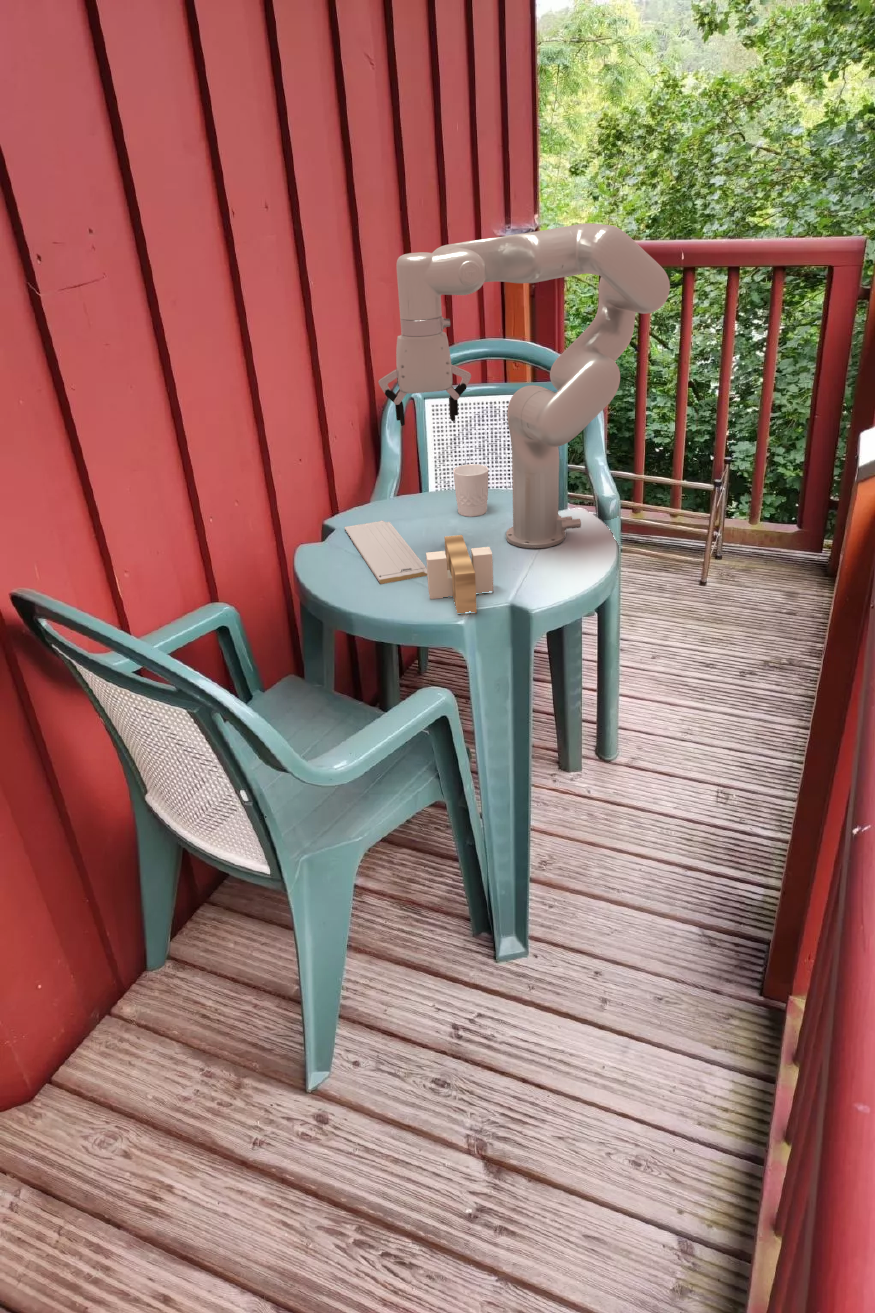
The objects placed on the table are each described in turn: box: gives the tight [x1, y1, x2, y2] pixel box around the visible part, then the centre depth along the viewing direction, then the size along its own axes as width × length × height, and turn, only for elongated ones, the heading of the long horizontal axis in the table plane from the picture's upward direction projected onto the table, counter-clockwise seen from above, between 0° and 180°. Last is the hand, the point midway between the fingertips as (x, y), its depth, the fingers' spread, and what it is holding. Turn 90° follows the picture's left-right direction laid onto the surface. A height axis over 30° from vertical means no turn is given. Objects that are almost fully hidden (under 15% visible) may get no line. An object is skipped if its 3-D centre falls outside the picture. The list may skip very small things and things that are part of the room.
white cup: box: [453, 463, 489, 517], centre depth 205 cm, size 8×8×10 cm
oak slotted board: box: [444, 534, 478, 614], centre depth 169 cm, size 18×4×8 cm, turn 6°
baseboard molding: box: [343, 520, 428, 585], centre depth 190 cm, size 31×3×12 cm
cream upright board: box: [425, 546, 494, 600], centre depth 169 cm, size 12×4×8 cm, turn 96°
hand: (427, 421), depth 171 cm, fingers open, 9 cm apart
